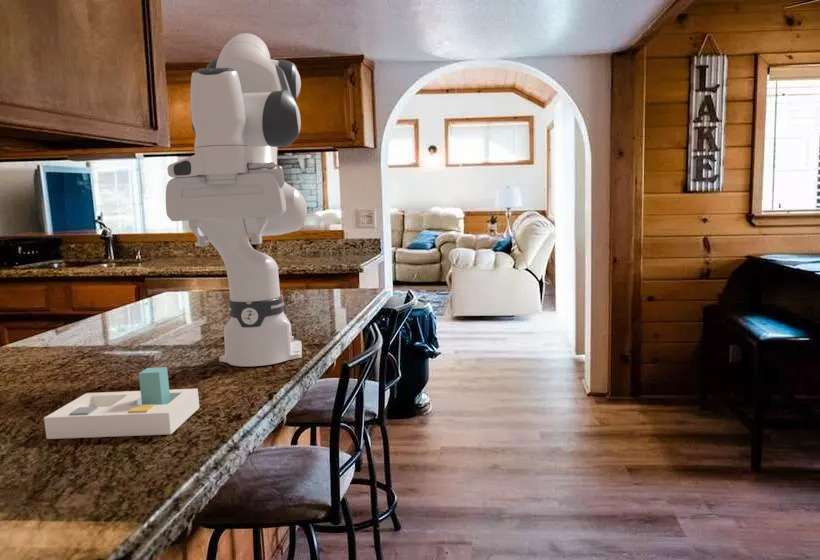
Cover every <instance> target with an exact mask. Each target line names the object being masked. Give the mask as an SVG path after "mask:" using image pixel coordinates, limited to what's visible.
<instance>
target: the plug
mask: <svg viewBox="0 0 820 560" xmlns="http://www.w3.org/2000/svg"><path fill="white" fill-rule="evenodd" d="M168 372H169V371H168V367H167V366H164V367H162V366H160V367H159V366H158V367H147V368H145V369H143V370H142V371H140V372H139V373H138V379H139V380H138V381H139V391H141V400H142V405H151V404H155V405H162V404H168V403H170V402H171V401H170V391H169V390H170V383H169V373H168Z"/></svg>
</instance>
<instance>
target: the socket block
mask: <svg viewBox="0 0 820 560" xmlns="http://www.w3.org/2000/svg"><path fill="white" fill-rule="evenodd" d="M169 391H170V401H171V402H170V403H168V404H162V405H155V404H151V405H142V400H141V391H140V390H130V391H129V390H128V391H127V390H125V391H104V392H86V393H84V394H82V395H81V396H78V397H77V398H76V399H74V400H72V401H70V402H68V403H67V404H65V405H63V406H62V407H60V408H57V410H54V411H53V412H51V413H50V414H48V415H46V416H44V417H43V422H44V429H45V437H46V440H57V439H80V438H84V439H85V438H106V437H107V438H108V437H109V438H110V437H113V438H114V437H135V436H139V437H140V436H160V435H166V436H167V435H172V434H173V433H174V432H176V430H177V429H178V428H180V426H181V425H183V424H185V422H186V421H187V420H188V419H189V418H190V417H192V415H193V414H195V413H196V412H197V411H198V410H199V409H200V400H199V399H200V398H199V390H198V388H183V389H182V388H180V389H179V388H178V389H169Z"/></svg>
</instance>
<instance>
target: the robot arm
mask: <svg viewBox="0 0 820 560" xmlns="http://www.w3.org/2000/svg"><path fill="white" fill-rule="evenodd" d="M190 77H191V78H190V116H191V117H190V119H191V120H190V121H191V126H192V127H191V128H192V132H193V134H194V135H195V138H194V146H193V147H194V155H191V156H188V157H186V158H183V159H181V160H177V161H176V162H173V163H170V164H168V166H167V175H168V176H169V177H170V180H169V181H168V182H167V184H166V187H165V211H166V216H167V217H168V218H169V220H170V221H171V222H182V221H183V222H184V221H188V228H189V229H190V230H191V232H192V233H193V234H194V236H195V237H196V241H197V247H209V246H210V244H211V245H212V246H213V247H214V248H215V250H216V251H217V252H218V254H219V256H220V257H221V259H222V261H223V264H224V266H225V272H226V276H227V282H228V289H229V300H228V305H227V306H228V316H230V319H229V320H228V321H227V322H226V323H225V325H224V328H223V330H224V333H223V334H224V337H223V338H224V353H223V354H222V355H219V357H218V359H219V360H218V361H219V362H221V363H225V364H229V365H231V366H234V367H259V366H260V367H261V366H269V365H275V364H279V363H283V362H287V361H290V360H296V359H297V360H298V359H300V358H302V355H303V354H302V353H303V352H302V351H303V350H302V349H303V344H302V340H298V339H297V340H296V339H295V336H294V335H292V324H291V322H290V319H288V317H287V315H286V314H285V312H284V311H285V306H284V303H285V302H284V295H283V294H281V288H280V287H281V286H280V278H279V275H280V274H279V265H278V264H277V262H276V260H275V259H274V258H273V257H271V256H270V255H268V254H266V253H264V252H262V251H259V250H257V249H255V248H254V247H253V246H252V245H261V244H263V237H273V236H281V235H285V234H289V233H293V232H297V231H299V230H301V228H302V227H303V226H304V224H305V222H306V220H307V216H308V205H307V201H306V199H305V197H304V196H303V194H302V193H301V191H300V190H298V189H297V188H296V187H293V186H292V185H290V184H289V183H287V182H286V181H285V172H284V169H283V167H281V166H280V165H278V149H279V148H288V147H290V146H291V145H292V144H293V143H294V142H295V141H296V140H297V139H298V137H299V136H300V132H301V129H302V127H301V126H302V121H301V119H302V118H301V113H300V109H299V106H298V104H297V101H298V97H299V95H300V93H301V88H302V86H301V85H302V81H301V75H300V73H299V70H298V68H297V65H296V64H295V63H294V62H293V61H292V62H291V61H289V60H286V59H281V58H280V59H278V60H277V59H274V58H273V59H272V58H271V53H270V50H269V49H268V46H267V44H266V43H265V42H264V41H263V40H262V38H261V37H259V36H258V35H255V34H253V33H250V32H249V33H248V32H247V33H245V32H243V33H239V34H237V35H235V36H233V37H231V38H230V39H229V40H228V42H226V44H225V45H224V46H223V48H222V49H221V51H220V53H219V55H217V58H214V59H212V60H211V61H210V62H208V64H207V65H206V68H199V69H196V70H194V71H193V72H192V73H191V76H190ZM249 238H250V239H251V240H249ZM250 242H251V243H250Z"/></svg>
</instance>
